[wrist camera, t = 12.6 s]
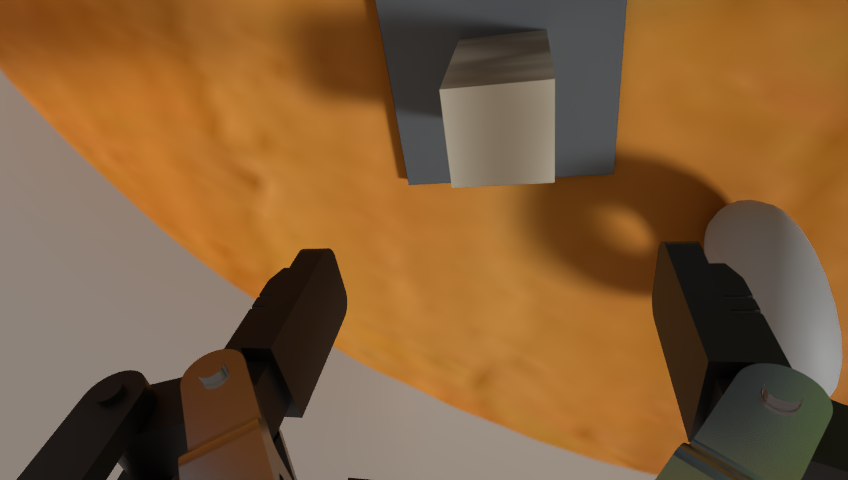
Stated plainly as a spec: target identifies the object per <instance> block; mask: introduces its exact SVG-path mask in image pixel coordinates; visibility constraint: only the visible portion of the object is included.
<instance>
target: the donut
mask: <svg viewBox="0 0 848 480" xmlns="http://www.w3.org/2000/svg"><path fill="white" fill-rule="evenodd" d="M704 254H705V256H706V258H707V260H708V262H709V263H725V264H727V265H728V266H729V267H730V268H732V269H733V270H734V271H735V272H737V273H738V274H739V275H740V276H742V277H743V278H744V280H745V282H746V283H747V285H748V287H749V289H750V291H751V293H752V295H753V299H755V300H756V302H757V304H758V306H759V308H760V309H761V314H763V315H764V317H765V319H766V321H767V323H768V324H769V326H770V328H771V330H772V332H773V334H774V336H775V337H776V339H777V341H778V343H779V345H780V347H781V349H782V350H783V352H784V354H785V356H786V358H787V360H788V362H789V363H790V365H791V367H792V369H795V370H797V371H799V372H801V373H803V374H805V375H807V376H808V377H810V378H811V379H813V380H814V381H815V382H817V383H818V384H819V385H820V386H821V387H822V388H823V389H824V390H825V392H826V393H827V394H828V396H829V397H830V396H831V394H832V393H833V392H834V390H835V389H836V387H837V385H838V380H839V376H840V372H841V366H842V336H841V331H840V326H839V320H838V315H837V310H836V306H835V303H834V299H833V296H832V293H831V290H830V287H829V283H828V280H827V277H826V275H825V273H824V270H823V268H822V266H821V263H820V261H819V259H818V257H817V254H816V252H815V250H814V249H813V247H812V245H811V244H810V242H809V241H808V239H807V237H806V236H805V234H804V232H803V231H802V230H801V229H800V227H799V226H798V225H797V224H796V223H795V222H794V221H793V220H792V219H791V218H790V217H789V216H788V215H787V214H786V213H785V212H784V211H783V210H781V209H779V208H777V207H775V206H774V205H770V204H767V203H763V202H758V201H754V200H744V201H737V202H734V203H731V204H728V205H726V206H725V207H724V208H722V209H721V210H719V211H718V212H717V213H716V215H715V216H714V217H713V219H712V220H711V221H710V223H709V224H708V225H707V229H706V232H705V238H704Z"/></svg>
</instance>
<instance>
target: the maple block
mask: <svg viewBox="0 0 848 480" xmlns="http://www.w3.org/2000/svg"><path fill="white" fill-rule="evenodd" d="M439 91H440V99H441V107H442V115H443V123H444V130H445V138H446V146H447V154H448V162H449V169H450V177H451V185H452V188H458V187H478V186H498V185H517V184H537V183H555V76H554V70H553V64H552V58H551V52H550V46H549V40H548V34H547V30H539V31H530V32H521V33H512V34H503V35H494V36H486V37H477V38H468V39H459V41H458V43H457V46H456V48H455V51H454V53H453V56H452V58H451V61H450V64H449V66H448V69H447V71H446V74H445V76H444V79H443V81H442V84H441V87H440V89H439Z"/></svg>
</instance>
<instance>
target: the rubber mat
mask: <svg viewBox="0 0 848 480" xmlns="http://www.w3.org/2000/svg"><path fill="white" fill-rule="evenodd" d="M375 2H376V7H377V13H378V18H379V24H380V29H381V35H382V40H383V46H384V51H385V57H386V62H387V68H388V73H389V79H390V84H391V90H392V95H393V101H394V106H395V112H396V117H397V123H398V128H399V134H400V139H401V145H402V150H403V156H404V161H405V166H406V172H407V177H408V183H409V185H418V184H437V183H451V177H450V169H449V162H448V154H447V146H446V138H445V130H444V123H443V115H442V107H441V99H440V91H439V89H440V87H441V84H442V81H443V79H444V76H445V74H446V71H447V69H448V66H449V64H450V61H451V58H452V56H453V53H454V51H455V48H456V46H457V43H458V41H459V39H468V38H477V37H486V36H494V35H503V34H512V33H521V32H530V31H539V30H547V34H548V40H549V46H550V52H551V58H552V64H553V70H554V76H555V177H570V176H589V175H608V174H614V163H615V150H616V137H617V123H618V110H619V97H620V83H621V70H622V57H623V44H624V30H625V17H626V4H627V0H375Z"/></svg>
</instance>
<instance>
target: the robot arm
mask: <svg viewBox="0 0 848 480" xmlns="http://www.w3.org/2000/svg"><path fill="white" fill-rule="evenodd" d="M259 295H260V297H258V298H257V299H256V301H255V302H254V304H253V306H252V309H250V310H249V311H248V313H247V314H246V316H245V318H244V319H243V321H242V322H241V324H240V325H239V327H238V328H237V330H236V331H235V333H234V334H233V336H232V338H231V339H230V341H229V342H228V344H227V345H226V347H225V348H224V349H222V350H217V351H214V352H211V353H208V354H206V355H204V356H203V357H201V358H199V359H198V360H197V361H195V362H194V363H193V364H192V365H191V366H190V367H189V368H188V369H187V370H186V372H185V373H184V375H183V377H181V378H177V379H173V380H169V381H164V382H160V383H156V384H152V385H150V384H149V383H148V381H147V380H146V378H145V377H144V375H143V374H142V373H140V372H138V371H132V370H129V371H122V372H118V373H116V374H113V375H111V376H108V377H107V378H105V379H103V380H102V381H100V382H98V383H97V384H96V385H94V386H93V387H92V388H91V389H90V390H89V391H88V392H87V393H86V394H85V395H84V396H83V397H82V399H81V400H80V401H79V402H78V404H77V405H76V406H75V407H74V408H73V410H72V411H71V412H70V414H69V415H68V416H67V417H66V419H65V420H64V421H63V422H62V423H61V425H60V426H59V427H58V428H57V430H56V431H55V432H54V434H53V435H52V436H51V437H50V438H49V440H48V441H47V442H46V444H45V445H44V446H43V447H42V448H41V450H40V451H39V452H38V454H37V455H36V456H35V457H34V459H33V460H32V461H31V462H30V464H29V465H28V466H27V467H26V469H25V470H24V471H23V472H22V474H21V475H20V476H19V477H18V478H17V480H106V479H107V478H108V476H109V475H110V473H111V472H112V470H113V469H114V467H115V465H116V464H117V462H118V463H119V464H120V466H121V467H122V468H123V469H124V470H123V471H122V473H121V474H120V476H119V478H118V479H117V480H297V478H296V475H295V472H294V469H293V466H292V463H291V459H290V456H289V453H288V450H287V447H286V444H285V441H284V438H283V435H282V432H281V430H280V428H279V427H280V425H281V423H282V421H283V418H284V417H300V418H302V417H303V414H304V412H305V410H306V407H307V405H308V403H309V400H310V398H311V395H312V393H313V391H314V388H315V386H316V384H317V381H318V379H319V376H320V374H321V372H322V369H323V367H324V365H325V362H326V360H327V358H328V355H329V353H330V351H331V348H332V346H333V343H334V341H335V339H336V336H337V334H338V332H339V329H340V327H341V325H342V322H343V320H344V317H345V315H346V310H347V295H346V291H345V287H344V284H343V281H342V277H341V274H340V271H339V268H338V264H337V261H336V258H335V255H334V253H333V251H332V250H331V249H329V248H328V249H302V250H301V251H300V252H299V253H298V255H297V256H296V258H295V260H294V261H293V263H292V264H291V266H290V268H283V269H282V270H281V271H280V272H278V273H277V274H276V275H275V276H273V277H272V278H271V279H270V280H269V281H268V282H267V284H266V285H265V287H264V288H263V290H262V291H261V293H260V294H259ZM652 309H653V316H654V321H655V325H656V328H657V332H658V335H659V339H660V342H661V346H662V349H663V353H664V356H665V360H666V363H667V367H668V370H669V374H670V377H671V381H672V385H673V388H674V392H675V395H676V399H677V402H678V406H679V409H680V413H681V416H682V420H683V423H684V427H685V430H686V434H687V437H688V441H689V442H691V443H690V444H689V445H688V444H686V443H682V444H681V445H680V446H679V447H678V448H677V450H676V451H675V452H674V454H673V455H672V456H671V458H670V459H669V461H668V462H667V464H666V465H665V467H664V468H663V469H662V471H661V472H660V474H659V475H658V477H657V478H656V480H848V406H847V405H844V404H841V403H838V402H836V401H833V400H831V399H830V398H829V396H828V394H827V393H826V392H825V390H824V389H823V388H822V387H821V386H820V385H819V384H818V383H817V382H815V381H814V380H813V379H811V378H810V377H808V376H807V375H805V374H803V373H801V372H799V371H797V370H795V369H792V367H791V365H790V363H789V362H788V360H787V358H786V356H785V354H784V352H783V350H782V349H781V347H780V345H779V343H778V341H777V339H776V337H775V336H774V334H773V332H772V330H771V328H770V326H769V324H768V323H767V321H766V319H765V317H764V315H763V314H761V309H760V308H759V306H758V304H757V302H756V300H755V299H753V295H752V293H751V291H750V289H749V287H748V285H747V283H746V282H745V280H744V278H743V277H742V276H740V275H739V274H738V273H737V272H735V271H734V270H733V269H732V268H730V267H729V266H728V265H727V264H725V263H709V262H708V260H707V258H706V256H705V254H704V252H703V249H702V247H701V245H700V243H699V242H697V241H684V242H661V243H660V246H659V250H658V257H657V264H656V271H655V278H654V286H653V293H652ZM348 480H368V479H356V478H348Z"/></svg>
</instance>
